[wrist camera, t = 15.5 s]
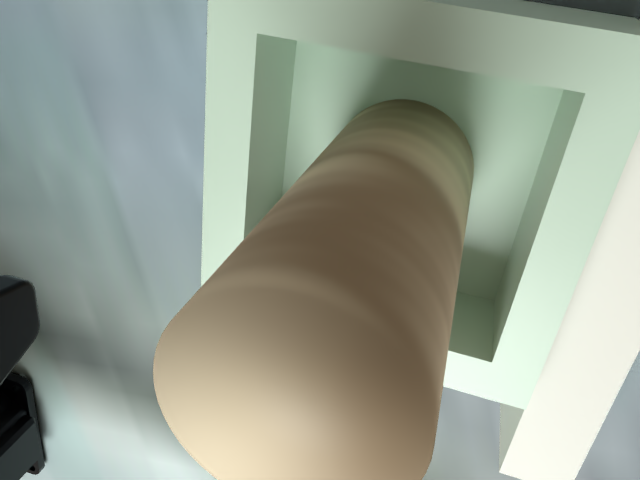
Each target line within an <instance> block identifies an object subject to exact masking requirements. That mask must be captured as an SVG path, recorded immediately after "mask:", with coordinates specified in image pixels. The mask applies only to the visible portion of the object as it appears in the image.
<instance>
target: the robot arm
mask: <svg viewBox="0 0 640 480" xmlns="http://www.w3.org/2000/svg"><path fill="white" fill-rule="evenodd" d="M39 328H40V319H39V312H38V305H37V299H36V292H35V288H34V286H33V284H32V283H31V282H29V281H27V280H24V279H21V278H18V277H14V276H10V275H2V276H0V480H20V478H21V477H22V476H23V475H24V474H25V473H26V472H28V473H31V474H35V475H36V474H39V472H40V471H41V470H42V469H43V468H44V467H45V463H44V457H43V451H42V445H41V439H40V433H39V427H38V421H37V415H36V409H35V403H34V396H33V390H32V386H31V383H30V382H29V381H28V380H27V379H26V378H24V377H22V376H20V375H17V374H14V373H11V370H12V369H13V368H14V366H15V365H16V364H17V362H18V361H19V360H20V358H21V357H22V356H23V355H24V353H25V352H26V351H27V349H28V348H29V347H30V345H31V344H32V343H33V341H34V340H35V338H36V336H37V334H38V332H39Z"/></svg>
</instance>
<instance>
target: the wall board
mask: <svg viewBox="0 0 640 480" xmlns="http://www.w3.org/2000/svg"><path fill="white" fill-rule="evenodd" d="M639 20H640V19H639ZM639 350H640V130H639V132H638V135H637V137H636V140H635V142H634V145H633V147H632V150H631V152H630V155H629V157H628V160H627V162H626V165H625V167H624V169H623V172H622V174H621V177H620V179H619V182H618V184H617V187H616V189H615V192H614V194H613V197H612V199H611V202H610V204H609V206H608V209H607V211H606V214H605V216H604V219H603V221H602V224H601V226H600V229H599V231H598V234H597V236H596V238H595V241H594V243H593V246H592V248H591V251H590V253H589V256H588V258H587V261H586V263H585V266H584V268H583V271H582V273H581V275H580V278H579V280H578V283H577V285H576V288H575V290H574V293H573V295H572V298H571V300H570V303H569V305H568V307H567V310H566V312H565V315H564V317H563V320H562V322H561V325H560V327H559V330H558V332H557V335H556V337H555V340H554V342H553V344H552V347H551V349H550V352H549V354H548V357H547V359H546V362H545V364H544V367H543V369H542V372H541V374H540V377H539V379H538V381H537V384H536V386H535V389H534V391H533V394H532V396H531V399H530V401H529V404H528V406H527V409H526V410H524V409H521V408H517V407H514V406H510V405H507V404H503V403H500V449H499V473H503V474H506V475H509V476H512V477H515V478H519V479H522V480H575V478H576V476H577V474H578V472H579V470H580V468H581V466H582V464H583V462H584V460H585V458H586V456H587V454H588V452H589V450H590V448H591V446H592V444H593V442H594V440H595V438H596V436H597V434H598V432H599V430H600V428H601V426H602V424H603V422H604V420H605V418H606V416H607V414H608V412H609V410H610V408H611V406H612V404H613V402H614V400H615V398H616V396H617V394H618V392H619V390H620V388H621V386H622V384H623V382H624V380H625V378H626V376H627V374H628V372H629V370H630V368H631V366H632V364H633V362H634V360H635V358H636V356H637V354H638V352H639Z"/></svg>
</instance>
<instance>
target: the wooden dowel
mask: <svg viewBox="0 0 640 480" xmlns="http://www.w3.org/2000/svg"><path fill="white" fill-rule="evenodd" d="M473 176H474V162H473V156H472V151H471V148H470V145H469V143H468V140H467V139H466V137H465V135H464V133H463V132H462V130H461V129H460V128H459V126H458V125H457V124H456V123H455V122H454V121H453V120H452V119H451V118H450V117H449V116H448V115H446V114H445V113H444V112H442V111H440V110H439V109H437V108H435V107H433V106H431V105H428V104H426V103H423V102H419V101H415V100H407V99H395V100H388V101H383V102H380V103H377V104H374V105H372V106H370V107H368V108H366V109H364V110H363V111H361V112H360V113H359V114H357V115H356V116H355V117H354V118H353V119H352V120H351V121H350V122H349V123H348V124H347V125H346V126H345V127H344V128H343V130H342V131H341V132H340V133H339V134H338V135H337V136H336V137H335V138H334V140H333V141H332V142H331V143H330V144H329V145H328V146H327V147H326V148H325V150H324V151H323V152H322V153H321V154H320V155H319V156H318V157H317V159H316V160H315V161H314V162H313V163H312V164H311V165H310V166H309V167H308V169H307V170H306V171H305V172H304V173H303V174H302V175H301V176H300V177H299V179H298V180H297V181H296V182H295V183H294V184H293V185H292V186H291V187H290V189H289V190H288V191H287V192H286V193H285V194H284V195H283V196H282V198H281V199H280V200H279V201H278V202H277V203H276V204H275V205H274V206H273V208H272V209H271V210H270V211H269V212H268V213H267V214H266V215H265V216H264V218H263V219H262V220H261V221H260V222H259V223H258V224H257V225H256V226H255V228H254V229H253V230H252V231H251V232H250V233H249V234H248V235H247V236H246V238H245V239H244V240H243V241H242V242H241V243H240V244H239V245H238V247H237V248H236V249H235V250H234V251H233V252H232V253H231V254H230V255H229V257H228V258H227V259H226V260H225V261H224V262H223V263H222V264H221V265H220V267H219V268H218V269H217V270H216V271H215V272H214V273H213V274H212V275H211V277H210V278H209V279H208V280H207V281H206V282H205V283H204V284H203V285H202V287H201V288H200V289H199V290H198V291H197V292H196V293H195V294H194V296H193V297H192V298H191V299H190V300H189V301H188V302H187V303H186V304H185V306H184V307H183V308H182V309H181V310H180V311H179V312H178V313H177V314H176V316H175V317H174V318H173V319H172V320H171V321H170V322H169V324H168V325H167V327H166V328H165V330H164V331H163V333H162V335H161V337H160V340H159V342H158V344H157V347H156V352H155V356H154V365H153V378H154V387H155V391H156V395H157V399H158V403H159V405H160V408H161V410H162V413H163V416H164V417H165V419H166V421H167V423H168V425H169V427H170V429H171V430H172V432H173V433H174V435H175V436H176V438H177V439H178V441H179V442H180V443H181V445H182V446H183V447H184V448H185V449H186V451H187V452H188V453H189V454H190V455H191V456H192V457H193V458H194V459H195V460H196V461H197V462H198V463H199V464H200V465H201V466H202V467H203V468H204V469H205V470H206V471H208V472H209V473H210V474H211V475H212V476H213V477H215V478H216V479H218V480H422V478H423V477H424V475H425V474H426V471H427V469H428V467H429V464H430V462H431V459H432V454H433V449H434V444H435V437H436V430H437V424H438V417H439V410H440V403H441V396H442V389H443V382H444V376H445V369H446V362H447V355H448V348H449V341H450V334H451V327H452V321H453V314H454V307H455V300H456V293H457V286H458V279H459V273H460V266H461V259H462V252H463V245H464V238H465V231H466V224H467V218H468V211H469V204H470V197H471V190H472V183H473Z"/></svg>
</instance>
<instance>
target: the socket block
mask: <svg viewBox="0 0 640 480" xmlns="http://www.w3.org/2000/svg"><path fill="white" fill-rule="evenodd" d="M395 99H407V100H415V101H419V102H423V103H426V104H428V105H431V106H433V107H435V108H437V109H439V110H440V111H442V112H444V113H445V114H446V115H448V116H449V117H450V118H451V119H452V120H453V121H454V122H455V123H456V124H457V125H458V126H459V128H460V129H461V130H462V132H463V133H464V135H465V137H466V139H467V140H468V143H469V145H470V148H471V151H472V156H473V162H474V176H473V183H472V190H471V197H470V204H469V211H468V218H467V224H466V231H465V238H464V245H463V252H462V259H461V266H460V273H459V279H458V286H457V293H456V300H455V307H454V314H453V321H452V327H451V334H450V341H449V348H448V355H447V362H446V369H445V376H444V382H443V386H444V387H448V388H451V389H455V390H458V391H462V392H465V393H469V394H472V395H475V396H479V397H482V398H486V399H489V400H493V401H496V402H500V403H503V404H507V405H510V406H514V407H517V408H521V409H524V410H526V409H527V406H528V404H529V401H530V399H531V396H532V394H533V391H534V389H535V386H536V384H537V381H538V379H539V377H540V374H541V372H542V369H543V367H544V364H545V362H546V359H547V357H548V354H549V352H550V349H551V347H552V344H553V342H554V340H555V337H556V335H557V332H558V330H559V327H560V325H561V322H562V320H563V317H564V315H565V312H566V310H567V307H568V305H569V303H570V300H571V298H572V295H573V293H574V290H575V288H576V285H577V283H578V280H579V278H580V275H581V273H582V271H583V268H584V266H585V263H586V261H587V258H588V256H589V253H590V251H591V248H592V246H593V243H594V241H595V238H596V236H597V234H598V231H599V229H600V226H601V224H602V221H603V219H604V216H605V214H606V211H607V209H608V206H609V204H610V202H611V199H612V197H613V194H614V192H615V189H616V187H617V184H618V182H619V179H620V177H621V174H622V172H623V169H624V167H625V165H626V162H627V160H628V157H629V155H630V152H631V150H632V147H633V145H634V142H635V140H636V137H637V135H638V132H639V130H640V20H638V19H636V18H633V17H627V16H620V15H614V14H608V13H601V12H595V11H588V10H582V9H575V8H569V7H563V6H556V5H550V4H543V3H537V2H531V1H524V0H208V18H207V60H206V101H205V142H204V183H203V224H202V266H201V287H202V285H203V284H204V283H205V282H206V281H207V280H208V279H209V278H210V277H211V275H212V274H213V273H214V272H215V271H216V270H217V269H218V268H219V267H220V265H221V264H222V263H223V262H224V261H225V260H226V259H227V258H228V257H229V255H230V254H231V253H232V252H233V251H234V250H235V249H236V248H237V247H238V245H239V244H240V243H241V242H242V241H243V240H244V239H245V238H246V236H247V235H248V234H249V233H250V232H251V231H252V230H253V229H254V228H255V226H256V225H257V224H258V223H259V222H260V221H261V220H262V219H263V218H264V216H265V215H266V214H267V213H268V212H269V211H270V210H271V209H272V208H273V206H274V205H275V204H276V203H277V202H278V201H279V200H280V199H281V198H282V196H283V195H284V194H285V193H286V192H287V191H288V190H289V189H290V187H291V186H292V185H293V184H294V183H295V182H296V181H297V180H298V179H299V177H300V176H301V175H302V174H303V173H304V172H305V171H306V170H307V169H308V167H309V166H310V165H311V164H312V163H313V162H314V161H315V160H316V159H317V157H318V156H319V155H320V154H321V153H322V152H323V151H324V150H325V148H326V147H327V146H328V145H329V144H330V143H331V142H332V141H333V140H334V138H335V137H336V136H337V135H338V134H339V133H340V132H341V131H342V130H343V128H344V127H345V126H346V125H347V124H348V123H349V122H350V121H351V120H352V119H353V118H354V117H355V116H356V115H357V114H359V113H360V112H361V111H363V110H364V109H366V108H368V107H370V106H372V105H374V104H377V103H380V102H383V101H388V100H395Z"/></svg>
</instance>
